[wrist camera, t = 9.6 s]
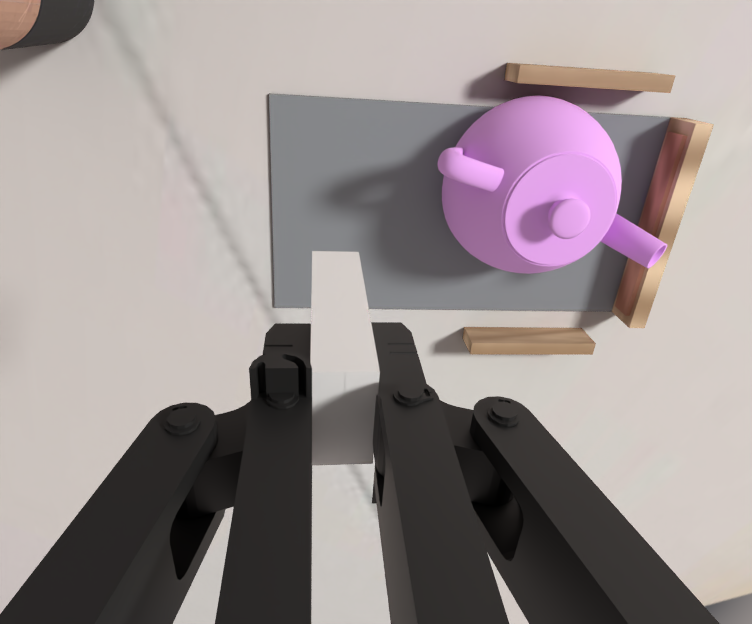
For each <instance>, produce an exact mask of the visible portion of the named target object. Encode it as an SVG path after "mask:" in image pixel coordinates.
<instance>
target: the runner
mask: <svg viewBox="0 0 752 624" xmlns="http://www.w3.org/2000/svg"><path fill="white" fill-rule="evenodd" d="M493 108H494V107H487V106H470V105H453V104H436V103H419V102H402V101H385V100H368V99H351V98H334V97H317V96H300V95H283V94H269V110H270V148H271V186H272V224H273V262H274V300H275V308H311V293H312V251H340V252H359V256H360V262H361V267H362V273H363V279H364V284H365V290H366V296H367V301H368V307H369V309H445V310H532V311H612V309H613V305H614V302H615V299H616V296H617V292H618V289H619V286H620V282H621V279H622V276H623V272H624V269H625V266H626V263H627V259H628V257H627V256H625V255H623V254H621V253H620V252H618V251H616V250H614V249H613V248H611V247H609V246H607V245H606V244H604V243H602V242H599V243H598V244H597V245H596V246H595V247H594V248H593V249H592V250H591V251H590V252H589V253H587V254H586V255H585V256H583V257H582V258H580V259H578V260H577V261H575V262H573V263H570V264H568V265H566V266H564V267H561V268H558V269H555V270H551V271H546V272H541V273H531V274H527V273H514V272H508V271H504V270H501V269H498V268H495V267H492V266H490V265H488V264H486V263H484V262H482V261H480V260H479V259H477V258H476V257H474V256H473V255H471V254H470V253H469V252H468V251H467V250H466V249H464V248H463V247H462V245H461V244H460V243H459V242H458V240H457V239H456V238H455V237H454V235H453V233H452V232H451V230H450V228H449V226H448V224H447V221H446V219H445V215H444V211H443V205H442V185H443V177H444V175H443V174H442V173H441V172H440V171H439V169H438V159H439V156H440V155H441V153H442V152H443V151H444V150H446V149H448V148H454V147H456V145H457V143H458V141H459V140H460V139H461V137H462V136H463V135H464V133H465V132H466V131H467V130H468V129H469V127H470V126H471V125H472V124H473V123H474V122H475V121H477V120H478V119H479V118H480V117H481V116H482V115H484V114H485V113H487V112H488V111H490V110H491V109H493ZM587 113H588V114H589V115H591V116H592V117H593V118H594V119H595V120H596V121H597V122H598V123H599V124H600V125H601V126H602V128H603V129H604V130H605V131H606V133H607V134H608V136H609V137H610V139H611V141H612V142H613V145H614V147H615V150H616V152H617V155H618V158H619V162H620V167H621V179H622V183H621V195H620V200H619V205H618V209H617V212H616V213H617V214H618V215H620V216H622V217H623V218H625V219H626V220H628V221H630V222H631V223H633V224H635V225H636V226H638V223H639V220H640V217H641V213H642V210H643V207H644V203H645V200H646V197H647V193H648V190H649V187H650V184H651V180H652V177H653V174H654V170H655V167H656V164H657V161H658V157H659V154H660V151H661V147H662V144H663V141H664V138H665V134H666V131H667V128H668V124H669V121H670V117H657V116H640V115H623V114H606V113H589V112H587Z"/></svg>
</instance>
